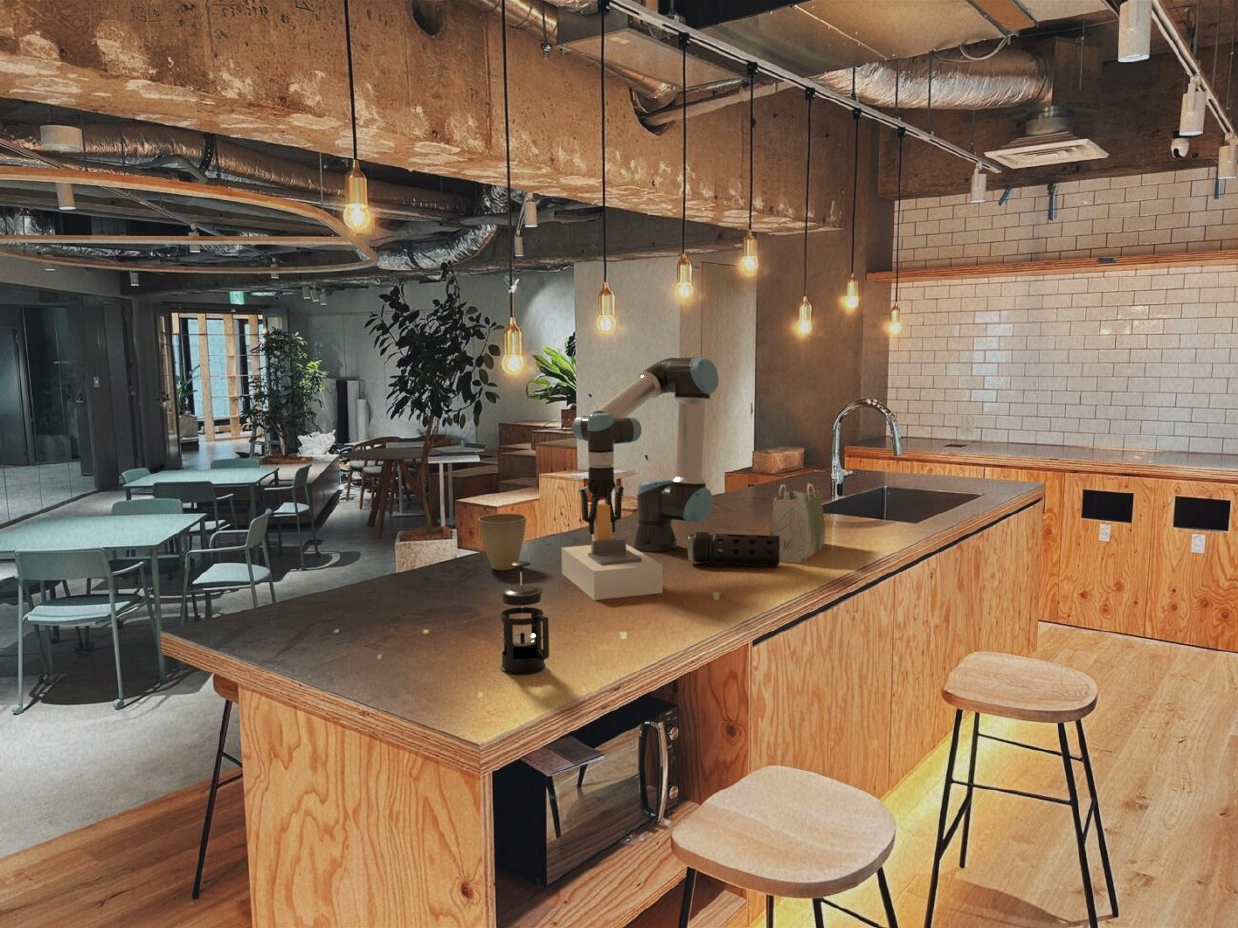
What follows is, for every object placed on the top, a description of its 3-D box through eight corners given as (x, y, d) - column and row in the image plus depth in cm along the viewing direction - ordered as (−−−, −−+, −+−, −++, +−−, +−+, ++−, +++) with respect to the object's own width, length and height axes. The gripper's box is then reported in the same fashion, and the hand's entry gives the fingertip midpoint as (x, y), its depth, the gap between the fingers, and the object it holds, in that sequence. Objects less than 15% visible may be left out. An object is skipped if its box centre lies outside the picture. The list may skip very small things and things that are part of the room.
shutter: (588, 555, 261) (587, 541, 261) (627, 552, 265) (626, 537, 265) (601, 564, 250) (600, 549, 250) (641, 560, 254) (641, 546, 254)
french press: (489, 669, 192) (486, 563, 189) (517, 656, 200) (514, 554, 197) (533, 679, 185) (531, 570, 183) (560, 666, 193) (558, 561, 190)
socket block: (561, 573, 274) (561, 547, 273) (623, 567, 281) (623, 542, 280) (594, 599, 244) (593, 571, 244) (662, 592, 251) (662, 564, 250)
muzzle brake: (778, 571, 275) (778, 537, 274) (687, 567, 281) (687, 535, 279) (779, 564, 284) (779, 531, 283) (691, 560, 290) (691, 529, 289)
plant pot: (489, 561, 291) (487, 512, 289) (533, 562, 288) (532, 513, 286) (472, 572, 277) (471, 521, 275) (518, 574, 274) (517, 522, 272)
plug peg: (593, 556, 270) (593, 504, 268) (606, 555, 271) (605, 503, 269) (598, 559, 266) (597, 506, 264) (610, 558, 267) (610, 505, 265)
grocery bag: (786, 540, 319) (787, 475, 316) (826, 543, 313) (827, 477, 310) (762, 560, 290) (763, 488, 287) (805, 563, 284) (806, 491, 281)
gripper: (577, 469, 259) (578, 548, 262) (632, 466, 264) (633, 544, 267) (569, 466, 266) (571, 543, 269) (624, 463, 272) (624, 539, 274)
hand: (602, 543), depth 268 cm, fingers closed on plug peg, 4 cm apart
